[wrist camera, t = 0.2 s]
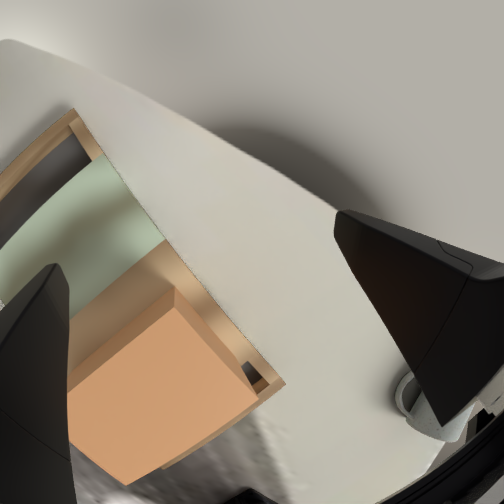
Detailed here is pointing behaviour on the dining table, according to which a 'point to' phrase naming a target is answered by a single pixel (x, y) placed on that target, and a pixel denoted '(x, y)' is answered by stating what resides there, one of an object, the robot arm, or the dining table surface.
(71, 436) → the block
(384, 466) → the dining table surface
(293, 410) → the dining table surface
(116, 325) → the box
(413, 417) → the ceramic mug
